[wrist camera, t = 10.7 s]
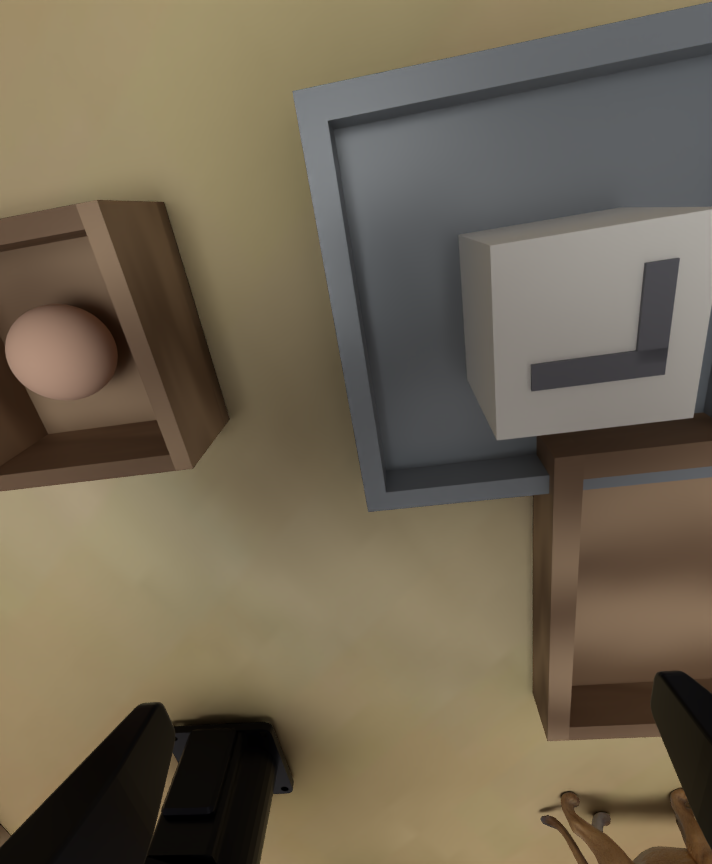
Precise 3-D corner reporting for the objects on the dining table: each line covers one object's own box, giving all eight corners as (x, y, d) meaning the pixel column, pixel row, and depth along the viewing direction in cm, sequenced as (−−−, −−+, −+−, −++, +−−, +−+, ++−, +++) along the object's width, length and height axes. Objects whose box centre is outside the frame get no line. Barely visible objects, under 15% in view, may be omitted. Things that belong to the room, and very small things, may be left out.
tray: (711, 447, 18) (747, 473, 16) (369, 484, 20) (368, 511, 18) (794, 4, 12) (864, -31, 11) (304, 106, 14) (292, 91, 12)
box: (229, 419, 19) (193, 468, 15) (50, 442, 20) (-24, 494, 16) (163, 202, 15) (96, 200, 12) (-48, 242, 16) (-170, 252, 13)
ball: (147, 375, 18) (100, 408, 15) (69, 387, 18) (9, 421, 15) (115, 289, 16) (57, 307, 13) (32, 303, 17) (-42, 323, 14)
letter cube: (608, 360, 17) (695, 419, 12) (467, 379, 17) (497, 442, 13) (620, 207, 14) (731, 206, 10) (458, 234, 15) (490, 246, 10)
